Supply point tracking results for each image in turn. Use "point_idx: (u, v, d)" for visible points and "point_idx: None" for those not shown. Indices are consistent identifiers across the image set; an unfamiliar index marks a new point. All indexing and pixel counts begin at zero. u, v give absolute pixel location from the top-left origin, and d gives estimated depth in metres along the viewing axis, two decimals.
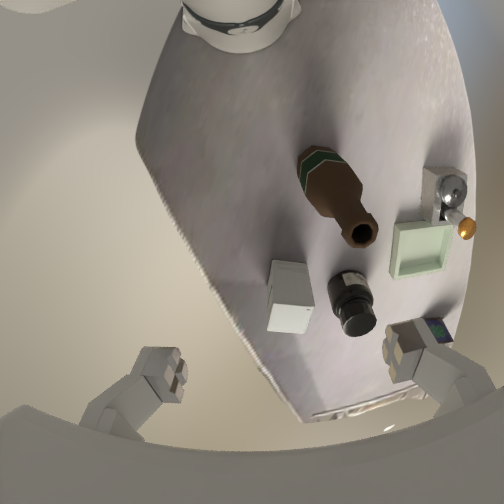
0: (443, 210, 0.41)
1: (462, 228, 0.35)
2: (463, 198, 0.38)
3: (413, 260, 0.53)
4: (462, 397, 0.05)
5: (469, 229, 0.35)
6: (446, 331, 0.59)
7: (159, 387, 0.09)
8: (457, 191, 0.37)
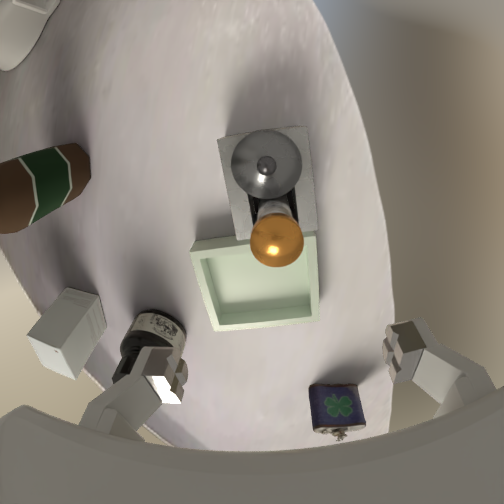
0: (258, 208, 0.26)
1: (251, 240, 0.19)
2: (295, 174, 0.22)
3: (254, 301, 0.36)
4: (462, 397, 0.05)
5: (278, 242, 0.19)
6: (356, 407, 0.40)
7: (159, 387, 0.09)
8: (262, 159, 0.21)
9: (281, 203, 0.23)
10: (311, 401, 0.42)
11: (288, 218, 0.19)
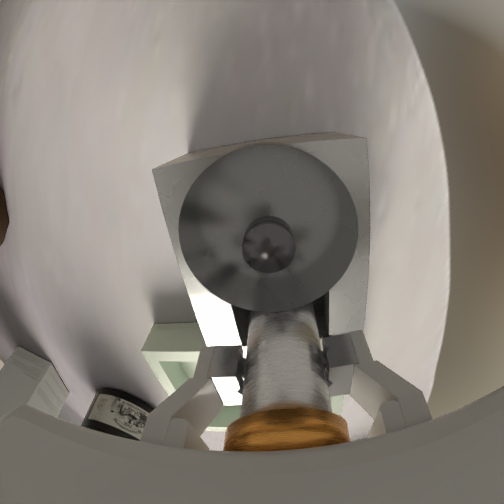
0: (250, 313, 0.12)
1: None
2: (338, 261, 0.09)
3: None
4: (385, 423, 0.05)
5: None
6: None
7: (226, 389, 0.08)
8: (256, 233, 0.08)
9: (300, 325, 0.10)
10: None
11: (323, 434, 0.06)
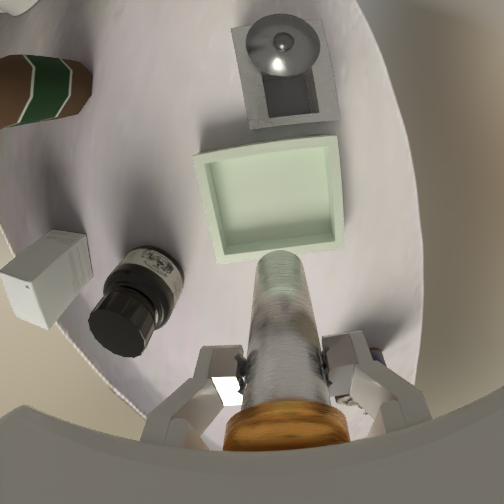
0: (251, 316, 0.13)
1: None
2: (313, 53, 0.17)
3: (266, 227, 0.31)
4: (385, 423, 0.05)
5: None
6: None
7: (226, 389, 0.08)
8: (278, 35, 0.16)
9: (300, 325, 0.10)
10: None
11: (322, 425, 0.06)
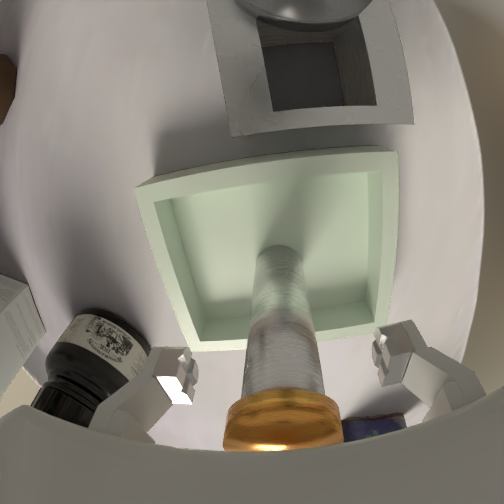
0: None
1: None
2: None
3: None
4: (450, 402, 0.05)
5: (286, 447, 0.07)
6: None
7: (170, 388, 0.09)
8: None
9: (296, 318, 0.11)
10: None
11: (315, 413, 0.06)
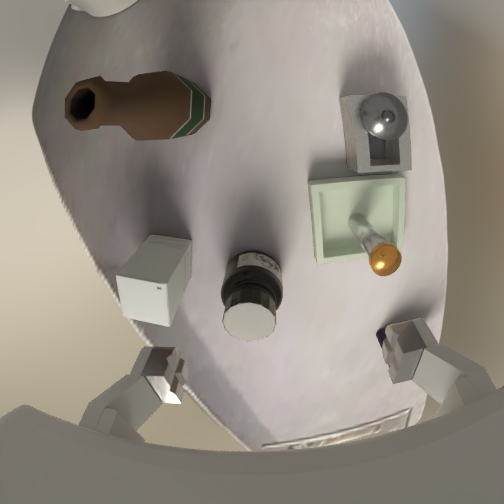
0: (357, 233, 0.35)
1: (373, 259, 0.28)
2: (403, 125, 0.27)
3: (350, 237, 0.40)
4: (462, 397, 0.05)
5: (387, 260, 0.28)
6: None
7: (159, 387, 0.09)
8: (386, 111, 0.26)
9: (378, 232, 0.32)
10: (382, 343, 0.46)
11: (394, 246, 0.28)
